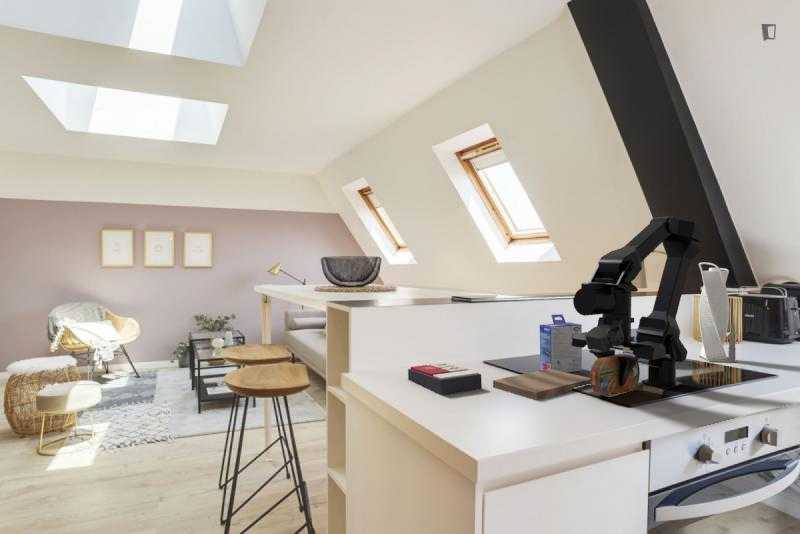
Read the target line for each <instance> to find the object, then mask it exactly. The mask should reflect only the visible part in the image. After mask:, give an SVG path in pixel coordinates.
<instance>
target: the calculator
mask: <svg viewBox="0 0 800 534" xmlns="http://www.w3.org/2000/svg"><path fill="white" fill-rule="evenodd" d="M407 378H408V379H407V380H408V381H410V382H411V383H413V384H416V385H418V386H419V387H420V386H421V387H422V388H426V389H428V390H430V391H431V392H433V393H435V394H437V395H438V396H447V395H454V394H461V393H467V392H473V391H478V390H479V391H480V390H482V389H483V388H482V374H481V373H479V372H477V371H474V370H470V369H469V370H468V368H467V367H462V366H458V365H454V364H451V363H447V362H438V363H433V364H432V363H429V364H423V365H414V366H410V368H408V369H407Z"/></svg>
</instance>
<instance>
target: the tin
mask: <svg viewBox="0 0 800 534" xmlns="http://www.w3.org/2000/svg"><path fill="white" fill-rule="evenodd" d="M619 355H623V353H615V355H611V356H607V357H602V358H599V359H598V358H597V359H596V360H595V361H594V362H593V363H592V365H591V368H590V378H591V385H590V387H591V389H592V390H593V392H594V393H595V394H596V395H598V396H600V395H602V396H601V397H604V396H605V398H607V396H609V395H613V394H617V393H623V392H629V391H632V392H633V391H634V390H635V389H636V388H637V387H638V384H639V380H640V376H641V375H640V373H641V372H640V371H641V370H640V364H639V361H637V362H636V364H635V365H634V367H633V369H632V371H631V373H630V374H629V376H628V378H627V380H626V382H625V384H624V386H620V384H619V371H620V362H619V360H618V358H617V356H619ZM629 393H630V392H629Z"/></svg>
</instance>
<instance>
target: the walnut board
mask: <svg viewBox="0 0 800 534" xmlns="http://www.w3.org/2000/svg"><path fill="white" fill-rule="evenodd" d="M586 384H591V377H587V376H582V375H577V374H572V373H571V372H561V371H557V370H553V369H545V370H540V369H539V370H536V371H532V372H526V373H522V374H518V375H513V376H508V377H504V378H499V379H493V380H492V388H495V389H498V390H502V391H506V392H508V393H512V394H514V395H518V396H522V397H525V398H528V399H530V400H533V401H537V400H540V399H544V398H545V399H546V398H549V397H552V396H556V395H559V394H563V393H567V392H571V391H573V390H572V389H573V388H574V387H578V386H582V385H586Z"/></svg>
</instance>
